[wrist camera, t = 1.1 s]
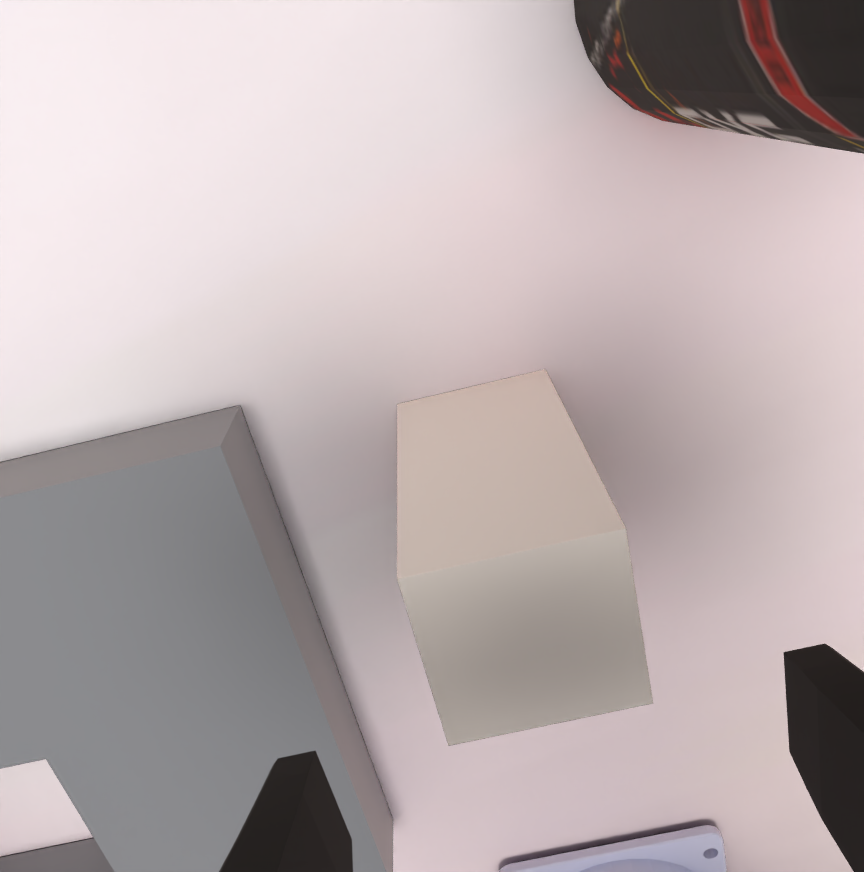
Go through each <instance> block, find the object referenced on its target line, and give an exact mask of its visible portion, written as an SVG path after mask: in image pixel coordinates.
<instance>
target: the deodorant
mask: <svg viewBox="0 0 864 872" xmlns="http://www.w3.org/2000/svg"><path fill="white" fill-rule="evenodd" d="M574 5H575V17H576V24H577V27H578V30H579V32H580V35H581V38H582V41H583V44H584V47H585V50H586V53H587V56H588V58H589V60H590V61H591V63H592V64H593V66H594V67H595V69H596V70H597V72H598V73H599V75H600V76H601V78H602V79H603V81H604V82H605V84H606V85H607V87H608V88H609V89H611V90H612V91H613V92H614V93H615V94H617V95H618V96H619V97H620V98H621V99H622V100H624V101H625V102H626V103H627V104H628V105H630V106H631V107H632V108H634V109H636V110H638V111H641V112H643V113H645V114H648V115H650V116H653V117H655V118H657V119H660V120H662V121H667V122H673V123H680V124H686V125H692V126H698V127H704V128H710V129H716V130H722V131H729V132H735V133H741V134H747V135H753V136H759V137H765V138H771V139H778V140H784V141H790V142H796V143H802V144H808V145H814V146H820V147H827V148H833V149H839V150H845V151H851V152H857V153H863V154H864V0H574Z"/></svg>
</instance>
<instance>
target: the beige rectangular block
mask: <svg viewBox="0 0 864 872" xmlns="http://www.w3.org/2000/svg"><path fill="white" fill-rule="evenodd" d="M397 581H398V584H399V587H400V591H401V594H402V597H403V600H404V604H405V607H406V610H407V613H408V617H409V620H410V623H411V626H412V629H413V633H414V636H415V639H416V642H417V646H418V649H419V652H420V655H421V659H422V662H423V665H424V668H425V671H426V675H427V678H428V681H429V684H430V688H431V691H432V694H433V697H434V701H435V704H436V707H437V710H438V713H439V717H440V720H441V723H442V726H443V730H444V733H445V736H446V739H447V743H448V746H451V745H455V744H460V743H465V742H470V741H475V740H479V739H484V738H489V737H494V736H499V735H504V734H508V733H513V732H518V731H523V730H528V729H532V728H537V727H542V726H547V725H552V724H556V723H561V722H566V721H571V720H576V719H580V718H585V717H590V716H595V715H600V714H604V713H609V712H614V711H619V710H624V709H629V708H633V707H638V706H643V705H648V704H653V700H652V693H651V687H650V681H649V674H648V668H647V661H646V655H645V648H644V642H643V636H642V629H641V623H640V616H639V610H638V603H637V597H636V590H635V584H634V578H633V571H632V565H631V558H630V552H629V545H628V539H627V533H626V528H625V526H624V524H623V522H622V520H621V518H620V516H619V514H618V512H617V510H616V508H615V506H614V504H613V502H612V500H611V498H610V496H609V494H608V492H607V490H606V488H605V486H604V484H603V482H602V480H601V478H600V476H599V474H598V472H597V470H596V468H595V466H594V464H593V462H592V460H591V459H590V457H589V455H588V453H587V451H586V449H585V447H584V445H583V443H582V441H581V439H580V437H579V435H578V433H577V431H576V429H575V427H574V425H573V423H572V421H571V419H570V417H569V415H568V413H567V411H566V409H565V407H564V405H563V403H562V401H561V399H560V397H559V395H558V393H557V391H556V389H555V387H554V385H553V383H552V381H551V379H550V377H549V375H548V373H547V371H546V370H545V369H543V370H539V371H535V372H531V373H526V374H522V375H518V376H514V377H510V378H505V379H501V380H497V381H493V382H488V383H484V384H480V385H476V386H471V387H467V388H463V389H459V390H455V391H450V392H446V393H442V394H438V395H433V396H429V397H425V398H421V399H416V400H412V401H408V402H404V403H399V404H397Z"/></svg>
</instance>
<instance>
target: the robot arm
mask: <svg viewBox="0 0 864 872" xmlns="http://www.w3.org/2000/svg"><path fill="white" fill-rule="evenodd" d="M784 666H785V683H786V699H787V716H788V733H789V750H790V753H791V756H792V758H793V760H794V762H795V764H796V766H797V768H798V771H799V773H800V775H801V777H802V779H803V781H804V784H805V786H806V788H807V790H808V792H809V794H810V796H811V798H812V800H813V802H814V804H815V806H816V808H817V810H818V812H819V814H820V816H821V818H822V820H823V822H824V824H825V825H826V827H827V829H828V830H829V832H830V834H831V835H832V837H833V839H834V840H835V842H836V843H837V845H838V847H839V848H840V850H841V852H842V853H843V855H844V856H845V858H846V860H847V861H848V863H849V865H850V866H851V868H852V870H853V871H854V872H864V672H863V671H862V670H860V669H859V668H858V667H856V666H855V665H854V664H852V663H851V662H850V661H849V660H847V659H846V658H845V657H843V656H842V655H841V654H839V653H838V652H837V651H835V650H834V649H833V648H831V647H830V646H828V645H826V644H821V645H816V646H812V647H807V648H802V649H797V650H792V651H788V652H784ZM219 872H353V855H352V838H351V836H350V833H349V831H348V829H347V826H346V824H345V821H344V819H343V816H342V814H341V811H340V809H339V807H338V804H337V802H336V799H335V797H334V794H333V792H332V789H331V787H330V785H329V782H328V780H327V777H326V775H325V772H324V770H323V767H322V765H321V763H320V760H319V758H318V755H317V753H316V750H315V751H310V752H306V753H301V754H296V755H291V756H287V757H282V758H278V759H277V760H276V762H275V763H274V764H273V766H272V768H271V770H270V772H269V774H268V776H267V778H266V780H265V782H264V784H263V787H262V789H261V791H260V793H259V795H258V797H257V799H256V801H255V803H254V805H253V807H252V809H251V811H250V813H249V815H248V817H247V819H246V821H245V823H244V825H243V827H242V829H241V831H240V833H239V835H238V837H237V839H236V841H235V843H234V844H233V846H232V848H231V850H230V852H229V854H228V856H227V858H226V859H225V861H224V863H223V865H222V867H221V869H220V871H219ZM499 872H727V868H726V859H725V851H724V842H723V838H722V836H721V834H720V831H719V829H718V828H716V827H715V826H711V825H704V826H699V827H694V828H689V829H684V830H679V831H674V832H669V833H663V834H658V835H653V836H648V837H643V838H638V839H633V840H628V841H623V842H618V843H613V844H608V845H603V846H598V847H593V848H587V849H582V850H577V851H572V852H567V853H562V854H557V855H552V856H547V857H542V858H537V859H532V860H527V861H522V862H517V863H511V864H508V865H505V866H504V867H502V868H501V869H500V871H499Z"/></svg>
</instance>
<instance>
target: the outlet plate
mask: <svg viewBox="0 0 864 872" xmlns="http://www.w3.org/2000/svg"><path fill="white" fill-rule="evenodd" d="M315 750H316V753H317V755H318V758H319V760H320V763H321V765H322V767H323V770H324V772H325V775H326V777H327V780H328V782H329V785H330V787H331V789H332V792H333V794H334V797H335V799H336V802H337V804H338V807H339V809H340V811H341V814H342V816H343V819H344V821H345V824H346V826H347V829H348V831H349V833H350V836H351V838H352V855H353V872H393V818H392V816H391V813H390V810H389V808H388V805H387V802H386V799H385V797H384V794H383V791H382V789H381V786H380V783H379V780H378V778H377V775H376V772H375V770H374V767H373V764H372V762H371V759H370V756H369V753H368V751H367V748H366V745H365V743H364V740H363V737H362V734H361V732H360V729H359V726H358V724H357V721H356V718H355V715H354V713H353V710H352V707H351V705H350V702H349V699H348V697H347V694H346V691H345V688H344V686H343V683H342V680H341V678H340V675H339V672H338V669H337V667H336V664H335V661H334V659H333V656H332V653H331V651H330V648H329V645H328V642H327V640H326V637H325V634H324V632H323V629H322V626H321V623H320V621H319V618H318V615H317V613H316V610H315V607H314V605H313V602H312V599H311V596H310V594H309V591H308V588H307V586H306V583H305V580H304V577H303V575H302V572H301V569H300V567H299V564H298V561H297V559H296V556H295V553H294V550H293V548H292V545H291V542H290V540H289V537H288V534H287V531H286V529H285V526H284V523H283V521H282V518H281V515H280V513H279V510H278V507H277V504H276V502H275V499H274V496H273V494H272V491H271V488H270V485H269V483H268V480H267V477H266V475H265V472H264V469H263V466H262V464H261V461H260V458H259V456H258V453H257V450H256V448H255V445H254V442H253V439H252V437H251V434H250V431H249V429H248V426H247V423H246V420H245V418H244V415H243V412H242V410H241V407H240V405H239V406H235V407H231V408H226V409H222V410H218V411H214V412H210V413H205V414H201V415H197V416H193V417H189V418H185V419H180V420H176V421H172V422H168V423H164V424H159V425H155V426H151V427H147V428H143V429H138V430H134V431H130V432H126V433H122V434H118V435H113V436H109V437H105V438H101V439H97V440H92V441H88V442H84V443H80V444H76V445H71V446H67V447H63V448H59V449H55V450H51V451H46V452H42V453H38V454H34V455H30V456H25V457H21V458H17V459H13V460H9V461H4V462H0V769H1V768H6V767H10V766H15V765H20V764H24V763H29V762H34V761H39V760H43V759H46V760H47V762H48V763H49V765H50V767H51V768H52V770H53V771H54V773H55V775H56V776H57V778H58V780H59V781H60V783H61V785H62V786H63V788H64V790H65V791H66V793H67V794H68V796H69V798H70V799H71V801H72V803H73V804H74V806H75V808H76V809H77V811H78V813H79V814H80V816H81V817H82V819H83V821H84V822H85V824H86V826H87V827H88V829H89V831H90V832H91V834H92V836H93V837H94V838H93V839H88V840H83V841H78V842H73V843H68V844H64V845H59V846H54V847H49V848H44V849H39V850H35V851H30V852H25V853H20V854H15V855H10V856H5V857H1V858H0V872H219V871H220V869H221V867H222V865H223V863H224V861H225V859H226V858H227V856H228V854H229V852H230V850H231V848H232V846H233V844H234V843H235V841H236V839H237V837H238V835H239V833H240V831H241V829H242V827H243V825H244V823H245V821H246V819H247V817H248V815H249V813H250V811H251V809H252V807H253V805H254V803H255V801H256V799H257V797H258V795H259V793H260V791H261V789H262V787H263V784H264V782H265V780H266V778H267V776H268V774H269V772H270V770H271V768H272V766H273V764H274V763H275V762H276V760H277V759H278V758H282V757H287V756H291V755H296V754H301V753H306V752H310V751H315Z"/></svg>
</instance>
